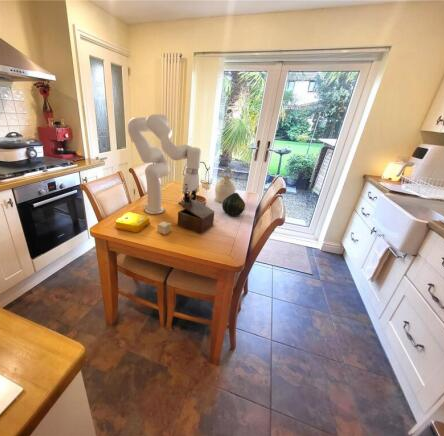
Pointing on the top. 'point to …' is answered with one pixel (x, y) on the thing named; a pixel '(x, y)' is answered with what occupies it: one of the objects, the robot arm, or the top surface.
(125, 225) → the element tile
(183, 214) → the chest
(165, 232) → the block
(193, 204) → the lid
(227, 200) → the squash
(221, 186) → the cream vase
